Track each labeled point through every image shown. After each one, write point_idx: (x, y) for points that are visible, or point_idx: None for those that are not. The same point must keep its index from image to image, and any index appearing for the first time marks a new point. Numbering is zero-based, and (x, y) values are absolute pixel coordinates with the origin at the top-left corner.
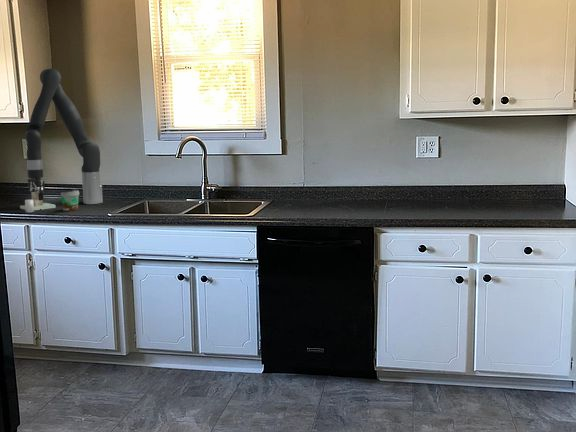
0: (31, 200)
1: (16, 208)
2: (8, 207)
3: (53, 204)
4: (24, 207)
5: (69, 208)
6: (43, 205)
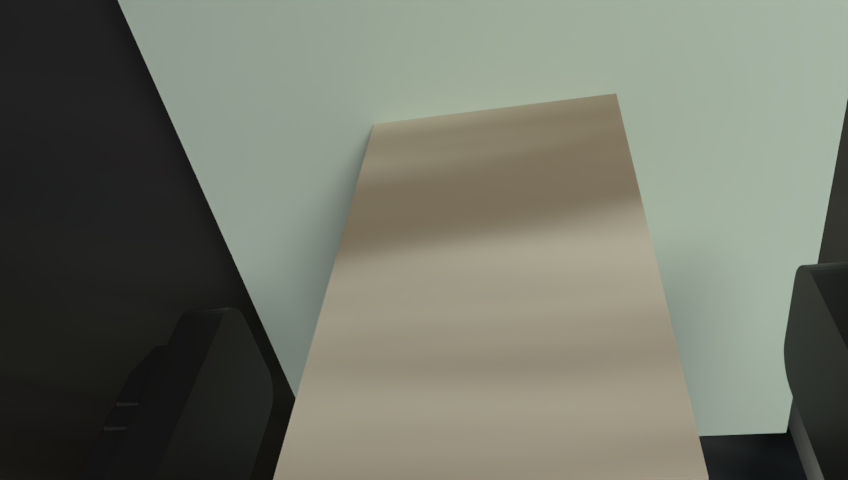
0: None
1: None
2: (77, 464)
3: None
4: None
5: None
6: (669, 99)
